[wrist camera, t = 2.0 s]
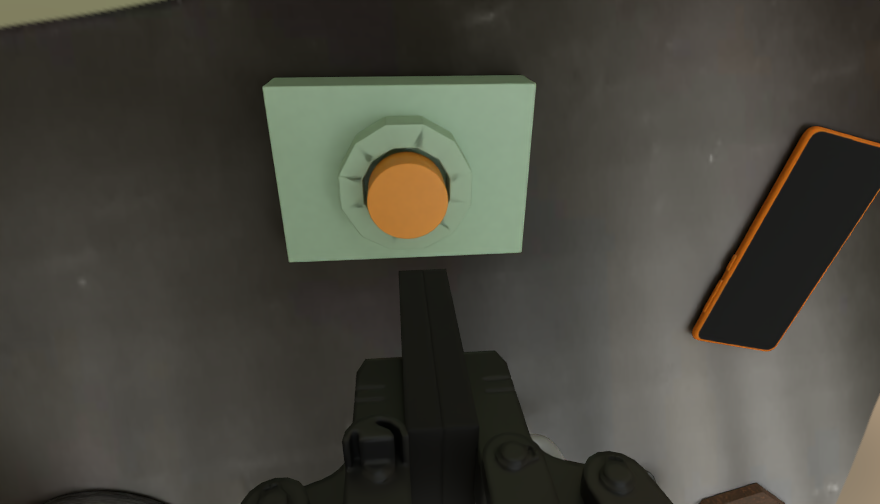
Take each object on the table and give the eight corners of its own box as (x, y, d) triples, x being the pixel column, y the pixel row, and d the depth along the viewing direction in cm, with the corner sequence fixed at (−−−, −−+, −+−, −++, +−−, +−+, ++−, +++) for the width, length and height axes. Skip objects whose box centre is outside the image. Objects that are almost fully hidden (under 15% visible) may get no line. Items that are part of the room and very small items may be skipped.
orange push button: (370, 224, 27) (369, 240, 25) (365, 152, 25) (364, 164, 24) (443, 221, 28) (447, 237, 26) (444, 150, 26) (449, 162, 24)
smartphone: (897, 148, 33) (909, 151, 33) (765, 347, 40) (773, 353, 40) (804, 121, 32) (814, 124, 31) (684, 333, 39) (690, 340, 38)
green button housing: (296, 240, 32) (282, 280, 28) (273, 77, 28) (252, 93, 23) (510, 232, 34) (529, 268, 29) (522, 74, 29) (547, 89, 25)
